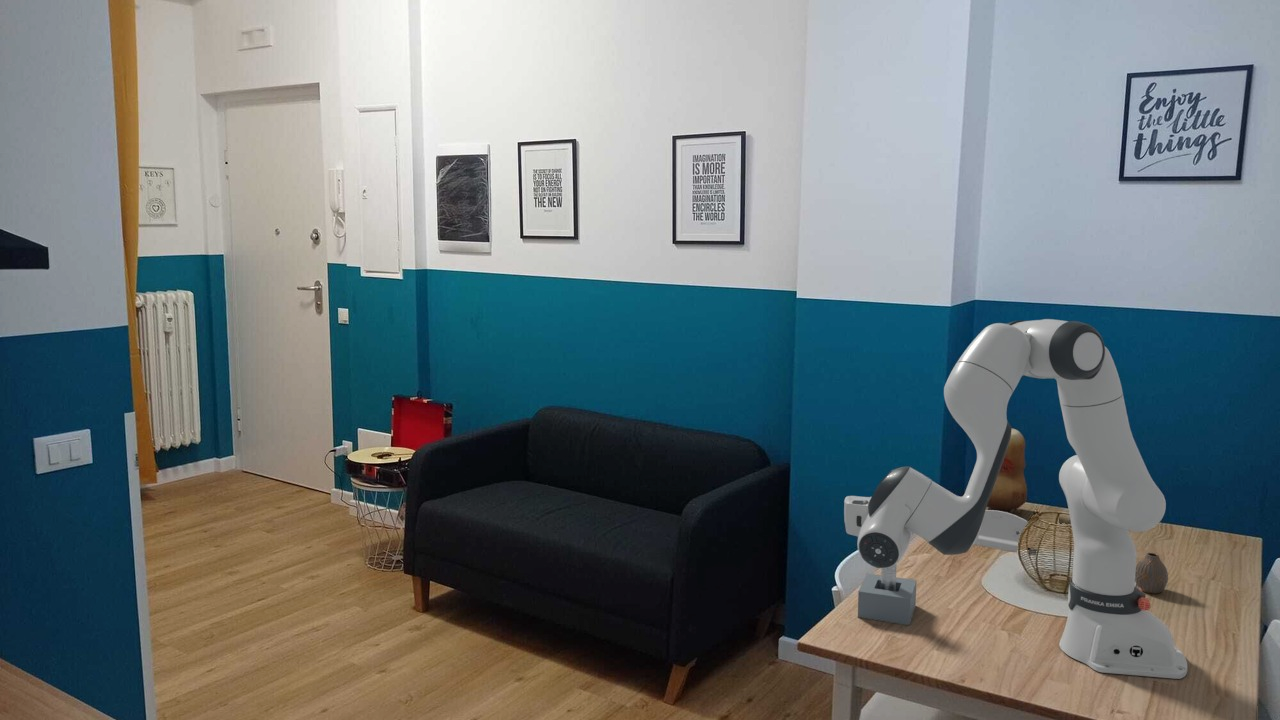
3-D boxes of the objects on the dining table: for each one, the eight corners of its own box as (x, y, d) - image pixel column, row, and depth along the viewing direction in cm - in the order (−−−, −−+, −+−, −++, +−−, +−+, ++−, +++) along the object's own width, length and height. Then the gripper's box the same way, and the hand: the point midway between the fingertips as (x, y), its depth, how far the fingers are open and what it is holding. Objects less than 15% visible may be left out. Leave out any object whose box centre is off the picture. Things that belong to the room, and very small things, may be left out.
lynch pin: (900, 608, 205) (902, 538, 202) (897, 617, 200) (899, 545, 198) (878, 605, 207) (880, 535, 204) (874, 613, 202) (877, 542, 200)
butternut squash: (974, 515, 267) (978, 432, 264) (977, 502, 280) (980, 422, 276) (1025, 520, 262) (1030, 436, 258) (1026, 507, 274) (1030, 425, 270)
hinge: (961, 542, 246) (966, 505, 247) (965, 542, 250) (970, 506, 251) (1027, 554, 236) (1031, 515, 238) (1030, 554, 240) (1035, 517, 242)
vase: (1159, 598, 208) (1162, 562, 207) (1128, 589, 213) (1130, 554, 212) (1171, 590, 213) (1174, 554, 211) (1140, 582, 218) (1143, 546, 216)
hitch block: (915, 605, 206) (916, 580, 205) (909, 625, 196) (910, 598, 196) (866, 597, 211) (866, 573, 210) (857, 617, 201) (858, 591, 200)
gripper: (949, 511, 169) (955, 489, 181) (837, 501, 177) (850, 481, 189) (948, 544, 170) (954, 520, 182) (838, 532, 178) (851, 511, 190)
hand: (900, 500), depth 186 cm, fingers open, 8 cm apart
